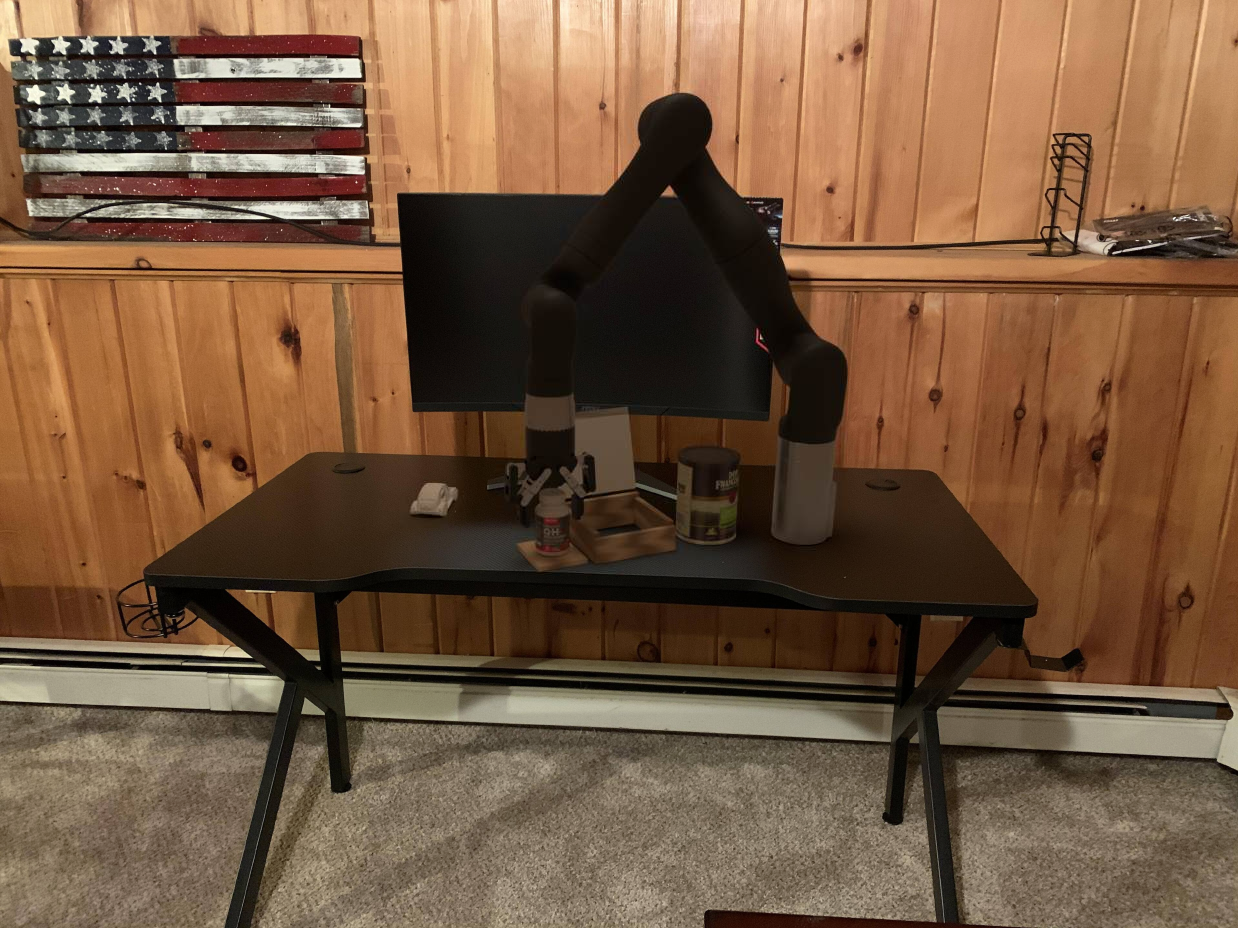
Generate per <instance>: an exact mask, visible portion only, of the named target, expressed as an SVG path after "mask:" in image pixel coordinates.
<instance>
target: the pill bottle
mask: <svg viewBox="0 0 1238 928" xmlns="http://www.w3.org/2000/svg"><path fill="white" fill-rule="evenodd" d="M538 495H539V499H538V500H539V502H540V503H538V504H537V505H536V506H535V508H534V531H535V532H534V535H535V538H534V541H535V547H536V551H537V552H538V553H539V554H541V555H545V556H560V555H563V554H565V553H567V552H568V551H569V545H570V543H571V541H570V510H569V506H568V505H567V504H565V503H564V502H565V491H563V490H561V489H556V488H545V489H544V488H543V489H542V490H539V493H538Z"/></svg>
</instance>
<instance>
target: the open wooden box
mask: <svg viewBox="0 0 1238 928" xmlns="http://www.w3.org/2000/svg"><path fill="white" fill-rule="evenodd" d="M564 503H565V504H567V505H568V506H569V510H570V543H571V544H572V545H573V546H574V547H576V548H577V549H578V550H579V551H580V552H581V553H582V554H583V555H584V556H585V557H587V558H589V559H588V560H590V561H592V562H593V564H595V565H600V564H606V563H611V562H616V561H617V562H618V561H622V560H623V561H624V560H627V559H633V558H634V559H635V558H639V557H645V556H651V555H654V554H661V553H667V552H671V551H676V548H677V547H676V543H677V535H676V524H674V520H673V519H672V518H670V516H667V515H666V514H665V513H663V512H662V511H660V510H659V509H657V508H656V507H654V506H653V505H652V504H650V503H648V502H647V501H646V500H645V499H643V498H641V497H640V492H638V491H637V490H635V491H631V492H623V493H618V494H617V493H615V494H611V495H609V494H608V495H604V496H603V495H602V496H596V497H591V498H589V499H584V514H583V516H581V519H580V520H575V519H574V518H573V517H572V515H571V501H569V502H564ZM632 524H633V525H635V526H636V527H637V528H639V530H635V531H634V530H633V531H628V532H623V533H622V532H621V533H615V534H610V535H604V536H600V532H599V531H598V530H602V529H609V528H615V527H621V526H626V525H632Z"/></svg>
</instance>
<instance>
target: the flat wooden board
mask: <svg viewBox="0 0 1238 928" xmlns="http://www.w3.org/2000/svg"><path fill="white" fill-rule="evenodd" d="M515 547H516V550H518V551H519V552H520V554H521V555H522V556H523V557H524V558H525V559H526V560H527V561H528V562H529V563H530V564H531V565H532V566H533V567H534V568H535V569H536V571H537V572H539V573H541V572H542V573H543V572H546V571H551V570H552V571H553V570H557V569H558V570H559V569H563V568H568V567H575V566H579V565H584V564H585V565H586V564H588V561H589V559H588V557H587V556H586V555H585V554H584V553H583V552H582V551H581V550H580V549H578V548H577V547H576V546H575V545H574V544H573V543H572V542H570V545H569V551H568V552H567V553H565V554H563V555H560V556H545V555H541V554H539V553H538V552H537V551H536V547H535V540H531V541H523V542H518V543H516V546H515Z"/></svg>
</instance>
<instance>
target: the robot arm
mask: <svg viewBox="0 0 1238 928" xmlns="http://www.w3.org/2000/svg"><path fill="white" fill-rule="evenodd" d="M713 122H714V121H713V117H712V113H711V111H710V109H709V107H708V105H707V103H706V102H705V101H704V100H703V99H702V98H700V97H699V96H698V95H696V94H692V93H691V92H690V93H689V92H674V93H670V94H667V95H665V96H662V97H659V98H657V99H654V100H653V101H652V102H649V103H648V104H647V105H646V106H645V108H644V109H643V110H642V111H641V113H640V115H639V118H638V122H637V137H638V141H639V144H640V145H639V147H638V149H637V150H636V152H635V154H634V155H633V158H632V159H631V161H630V162H629V164H628V165H627V166H626V167H625V169H624V170H623V172H622V173H621V174H620V175H619V177H618V178H617V179H616V181H615V182H614V183H613V185H611V187H610V188H608V190H607V191H606V192H605V193H604V194H603V195H602V197H601V198H600V199H599V200H598V201H597V202H596V203H595V204H594V206H593V207H592V208H591V209H590V210H589V211H588V212H587V214H585V216H584V218H583V219H581V222H580V223H579V225H578V226H577V227H576V229H575V230H574V231H573V234H571V236H570V238H569V239H568V241H567V242H566V244H565V245H564V247H562V250H561V251H560V252H559V254H558V256H557V257H556V258H555V260H553V261H552V262H551V264H549V266H548V267H546V268H545V270H544V271H543V272H542V273H541V274H540V276H538V278H537V279H536V280H535V281H534V282H533V284H532V285H531V286H530V288H529V289H528V291H527V293H526V294H525V296H524V298H523V300H522V303H521V316H522V319H523V321H524V323H525V324H526V325H527V327H528V328H529V329H530V355H529V356H528V357H527V360H526V366H525V392H526V393H525V404H524V415H523V416H524V417H523V419H524V420H523V421H524V427H525V428H524V433H525V434H524V435H525V437H524V438H525V440H524V441H525V459H524V461H523V462H517V463H516V462H515V463H514V462H513V461H510V460H509V461H507V462H505V465H504V466H505V467H504V487H503V488H504V489H503V491H504V493H503V497H504V498H505V499H506V500H507V501H508V502H509V503H510V504H511V505H515V504H516V520H517V522H518V524H519V525H521V526H522V527H523V528H524V529H529V528H530V523H531V522H530V520H531V519H530V517H531V516H530V505H529V503H530V501H531V500H532V499H533V497H534V496H535V495H537V494H538V492H540V489H541V488H543V490H544V489H548V488H550V487H552V486H557V487H559V486H563V484H564V483H566V484H567V485H568V486H569V487H570V489H571V490H572V491H573V494H571V515H572V517H573V518H574V519H575V520H580V519H581V516H583V514H584V496H585V495H586V494H587V493H589V492H594V491H595V490H596V475H595V458H594V457H593V456H592V455H590V454H589V453H587V452H583V453H582V455H578V456H575V412H576V403H575V397H574V367H573V366H574V363H573V362H574V357H575V354H576V347H577V340H578V334H579V332H578V331H579V330H578V329H579V315H578V309H577V306H576V303H577V302H578V301H579V300H580V298H581V297H582V296H583V294H584V293H585V292H586V291H587V290H588V289H589V288H593V287H595V286H596V285H597V284H598V283H599V282H600V281H601V280H602V279H603V278H604V276H605V275H606V273H608V272H607V271H608V270H609V269H610V267H611V266H612V265H613V263H614V262H615V260H616V259H617V258H618V256H619V255H620V254H621V251H622V250H623V249H624V248H625V246H626V244H627V243H628V241H629V240H630V238H631V237H632V235H633V234H634V233H635V231H636V229H637V228H638V227H639V225H640V224H641V223H642V221H643V220H644V218H645V217H646V215H647V214H648V213H649V211H650V210H651V209H652V208H653V206H654V205H655V204H656V202H657V201H658V200H659V198H660V197H661V196H662V195H663V193H665V191H666V190H667V189H668V188H669V187H670V188H671V190H672V191H673V193H674V194H675V195H676V196H677V199H678V200H679V201H680V203H681V205H682V207H683V209H684V210H685V213H686V214H687V216H688V218H689V220H690V222H691V224H692V226H693V227H694V229H695V231H696V233H697V235H698V237H699V238H700V240H701V242H702V244H703V245H704V247H705V249H706V251H707V252H708V255H709V256H710V258H711V260H712V262H713V264H714V265H715V267H716V269H717V270H718V272H719V274H720V276H721V277H722V279H723V280H724V282H725V284H726V285H727V286H728V288H729V289H730V292H731V293H732V294H733V296H734V297H735V299H736V300H737V301H738V303H739V305H740V306H741V308H742V309H743V311H744V312H745V313H746V315H747V316H748V317H749V318H750V320H751V321H752V323H753V324H754V326H755V327H756V329H757V331H758V333H759V335H760V337H761V339H762V341H763V343H764V345H765V347H766V349H767V352H768V353H769V356H770V358H771V361H772V362H773V363H772V364H773V366H774V368H775V370H776V372H777V375H778V377H779V378H780V379H781V380H782V382H783V383H784V384H785V385H786V386H787V387H789V396H788V405H787V412H786V414H784V415H781V417H780V418H779V421H778V430H777V444H776V446H777V447H776V460H775V471H774V472H775V473H774V488H773V489H774V490H773V503H772V518H771V531H770V534H771V535H772V536H773V537H774V538H775V539H777V540H779V541H781V542H784V543H787V544H793V545H801V546H806V545H807V546H808V545H816V544H820V543H823V542H825V541H826V540H827V538H830V537H831V538H832V537H833V528H834V517H835V508H836V507H835V505H836V495H837V482H836V481H834V480H833V474H834V462H835V450H836V440H837V430H838V428H839V426H840V425H841V423H842V420H843V415H844V410H845V401H846V392H847V387H848V386H847V385H848V377H849V372H848V367H849V366H848V361H847V357H846V356H845V353H844V352H843V350H842V349H841V348H840V347H839V346H837V345H836V344H834V343H832V342H830V341H827V340H826V339H824V338H821V337H820V336H819V335H818V334H817V333H816V332H815V330H814V329H813V327H812V326H811V325H810V323H809V321H807V319H806V317H805V315H804V314H803V313H802V311H801V310H800V308H799V306H798V304H797V302H796V300H795V298H794V295H793V292H792V288H791V284H790V280H789V275H788V271H787V268H786V264H785V262H784V261H785V260H783V257H782V254H781V252H780V250H779V248H778V246H777V244H776V243H775V241H774V239H773V238H772V236H771V234H770V232H769V231H768V228H767V227H766V225H765V224H764V222H763V220H761V218H760V216H759V215H758V214H757V213H756V212H755V210H754V209H753V208H752V207H751V206H750V204H749V203H748V202H747V201H746V200H745V199H744V198H743V197H742V196H741V195H740V194H739V193H738V192H737V191H736V190H735V189H734V188H733V187H732V185H731V184H730V183H728V181H726V179H725V178H724V177H723V175H722V174H721V172H720V171H719V170H718V168H717V166H716V164H715V163H714V160H713V159H712V156H711V155H710V153H709V151H708V149H707V146H708V144H709V143H710V139H711V137H712V133H713ZM577 463H579V466H580V467H581V468H582V477H583V484H581V485H579V483H578V482H577V480H576V479H575V478H574V477H573V476H572V472H573V471H574V469H575V467H576V466H577ZM523 472H525V473H526V474H527V475H526V477H525V479H524V480H523V482H522V485H521V488H520V489H519V491H518V488H519V487H518V485H519V483H518V482H519V481H518V480H519V478H521V477H522V474H523Z"/></svg>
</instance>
